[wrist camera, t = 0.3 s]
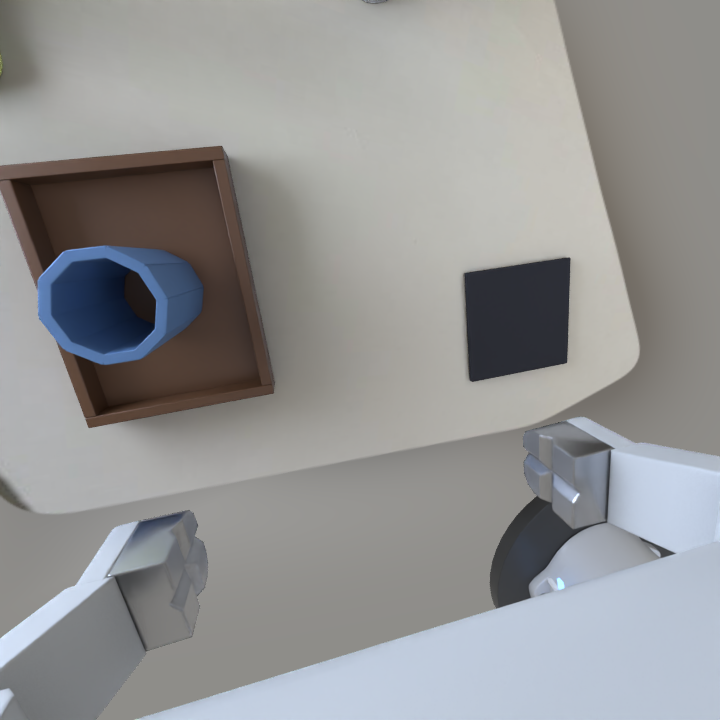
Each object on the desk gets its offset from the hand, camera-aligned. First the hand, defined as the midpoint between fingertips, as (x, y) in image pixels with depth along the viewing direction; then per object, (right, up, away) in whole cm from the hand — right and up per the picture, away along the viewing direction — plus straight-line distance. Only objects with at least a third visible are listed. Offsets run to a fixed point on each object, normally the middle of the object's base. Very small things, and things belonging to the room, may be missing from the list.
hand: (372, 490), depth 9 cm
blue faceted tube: (-15, +8, +19) cm, 26 cm away
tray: (-15, +8, +19) cm, 26 cm away
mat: (+14, +7, +26) cm, 30 cm away
